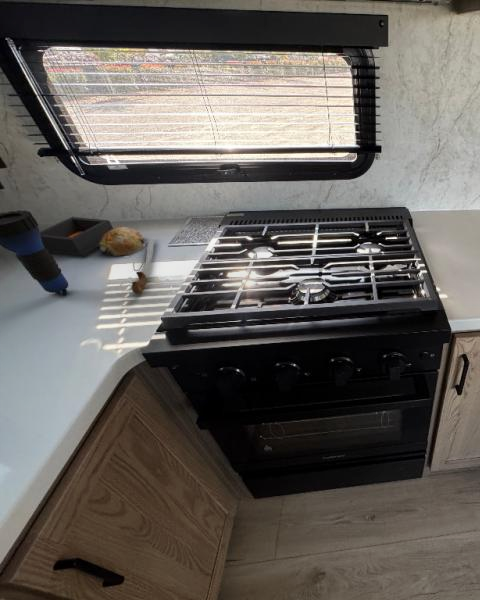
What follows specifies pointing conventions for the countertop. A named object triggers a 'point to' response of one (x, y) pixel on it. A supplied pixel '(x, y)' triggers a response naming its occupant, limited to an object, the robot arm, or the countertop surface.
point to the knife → (143, 271)
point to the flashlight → (31, 250)
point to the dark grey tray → (75, 236)
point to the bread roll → (121, 241)
